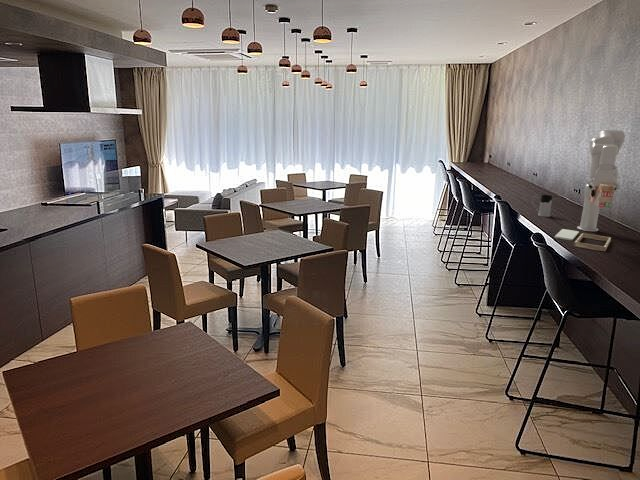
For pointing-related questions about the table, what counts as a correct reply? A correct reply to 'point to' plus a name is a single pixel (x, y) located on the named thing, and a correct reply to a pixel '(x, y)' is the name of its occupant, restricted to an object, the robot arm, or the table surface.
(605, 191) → the stack of blocks
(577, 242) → the beige open rectangular frame
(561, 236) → the sage mat
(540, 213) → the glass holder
